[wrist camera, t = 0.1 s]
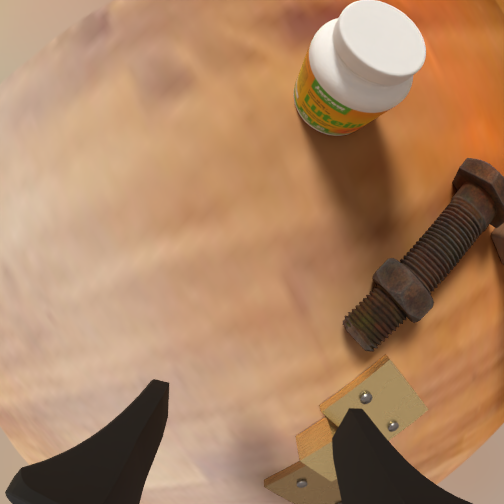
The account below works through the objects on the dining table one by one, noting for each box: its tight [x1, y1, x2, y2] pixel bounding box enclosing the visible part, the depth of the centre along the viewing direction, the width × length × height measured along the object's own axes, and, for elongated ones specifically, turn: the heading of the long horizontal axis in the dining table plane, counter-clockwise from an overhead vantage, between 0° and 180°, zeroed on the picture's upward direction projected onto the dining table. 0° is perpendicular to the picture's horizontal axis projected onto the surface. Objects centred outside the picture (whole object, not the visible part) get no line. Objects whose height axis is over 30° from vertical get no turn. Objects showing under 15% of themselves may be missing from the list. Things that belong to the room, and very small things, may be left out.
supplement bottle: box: [294, 0, 426, 136], centre depth 14 cm, size 5×5×10 cm
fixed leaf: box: [264, 461, 342, 504], centre depth 23 cm, size 9×12×3 cm
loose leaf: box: [296, 354, 428, 482], centre depth 21 cm, size 10×8×3 cm
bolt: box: [343, 158, 504, 351], centre depth 19 cm, size 6×5×15 cm
